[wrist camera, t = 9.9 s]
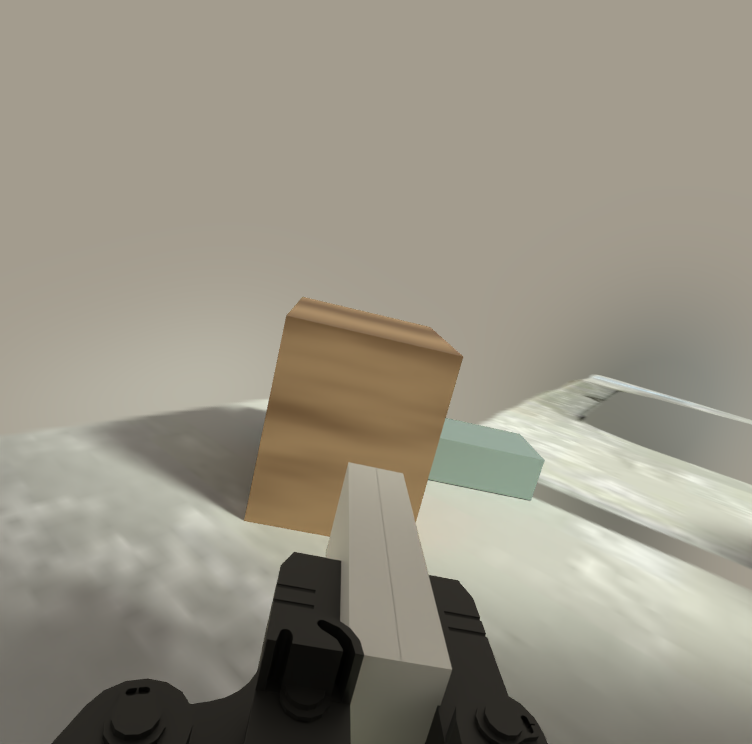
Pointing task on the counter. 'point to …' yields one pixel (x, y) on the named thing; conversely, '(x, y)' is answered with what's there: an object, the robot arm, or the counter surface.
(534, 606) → the counter surface
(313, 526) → the block
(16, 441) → the counter surface
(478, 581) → the counter surface
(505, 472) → the board
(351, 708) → the robot arm
